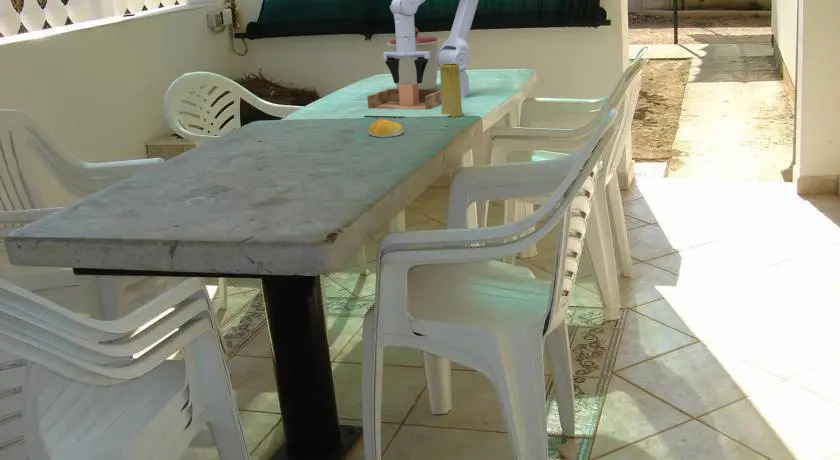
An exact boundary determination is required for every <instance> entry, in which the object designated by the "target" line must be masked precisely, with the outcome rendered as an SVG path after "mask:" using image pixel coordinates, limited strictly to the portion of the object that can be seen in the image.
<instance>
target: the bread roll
mask: <svg viewBox="0 0 840 460" xmlns="http://www.w3.org/2000/svg"><path fill="white" fill-rule="evenodd" d="M403 127H404V126H403V125H402V124H401V123H399V122H396V121H391V120H388V119H385V118H382V119H381V118H380V119H378V120H375V121H374V122H372V123H371V125H369V127H368V129H367V130H368V133H369V135H370V136H371V137H375V136H376V138H381V137H383V138H394V137H393V136H395V137H399V136H401V135H402V134H403V133H404V128H403ZM398 135H399V136H398Z"/></svg>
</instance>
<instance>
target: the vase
mask: <svg viewBox="0 0 840 460" xmlns="http://www.w3.org/2000/svg"><path fill="white" fill-rule="evenodd" d="M439 68H440V72H439V73H440V89H441V115H448V116H446V118H456V117H457V118H458V117H461V116H463V114H464V112H463V109H462V98H461V92H460V77H459V64H457V63H448V64H441V65H440V67H439Z"/></svg>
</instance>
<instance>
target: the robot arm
mask: <svg viewBox="0 0 840 460" xmlns="http://www.w3.org/2000/svg"><path fill="white" fill-rule="evenodd" d="M425 1H426V0H392V1H391V5H389V10H390V11H391V13H392V14H393V19H394V27H395V38H396V47H397V52H390V51H384V52H382V55H383V60H385V65H386V66H387V67H388V68H387V69H388V70H389V71H390V75H391V77H392V80H393V84H396V83H399V60H400V59H410V58H417V59H416V60H414V62H415V66H416V73H417V83H422V79H423V74H424V70H425V67H426V65H427V63H428V58H430V51H416V44H415V28H416V26H415V14H416V12H417V11H418V9H419V6H421V4H423V3H424V2H425ZM478 3H479V0H459V3H458V7H457V9H456V12H455V17H454V20H453V24H452V26H451V30H450V34H449V37H448V38H447V39H446V40H445V41H443V43H442V44H441V45H442V46H441V48H439V52H438V53H437V56H436V62H437V64H438V67H439V68H440V65H441V64H448V63H457V64H459V77H460V92H461V99H465V98H466V97H467V96H469V95H470V88H469V87H470V85H469V84H470V83H469V82H470V80H469V75H468V73H467V71H466V69H467V68H468V65H469V61H470V58H469V57H470V54H469V53H470V50H471V47H469V45H468V43H467V41H468V37H469V34H470V31H471V27H472V24H473V20H474V17H475V14H476V10H477V7H478ZM399 56H415V57H399Z"/></svg>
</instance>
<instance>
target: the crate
mask: <svg viewBox="0 0 840 460" xmlns="http://www.w3.org/2000/svg"><path fill="white" fill-rule="evenodd" d="M366 99H367V108H368V109H374V110H375V109H380V110H381V109H386V110H390V109H391V110H394V109H395V110H432V109H433V108H436V107H438V106H440V105H441V88H434V89H419V103H418V104H416V105H413V106H411V105H400V102H399V89H398V88H386V89H383V90H381V91H377V92H374V93H371V94H369V95H367V98H366ZM441 106H442V105H441Z"/></svg>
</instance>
